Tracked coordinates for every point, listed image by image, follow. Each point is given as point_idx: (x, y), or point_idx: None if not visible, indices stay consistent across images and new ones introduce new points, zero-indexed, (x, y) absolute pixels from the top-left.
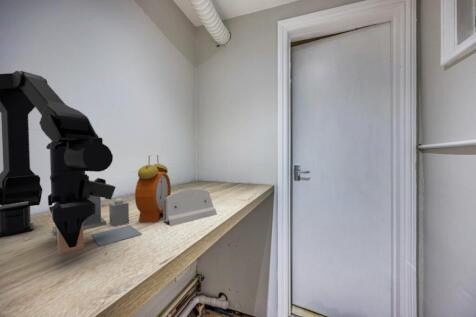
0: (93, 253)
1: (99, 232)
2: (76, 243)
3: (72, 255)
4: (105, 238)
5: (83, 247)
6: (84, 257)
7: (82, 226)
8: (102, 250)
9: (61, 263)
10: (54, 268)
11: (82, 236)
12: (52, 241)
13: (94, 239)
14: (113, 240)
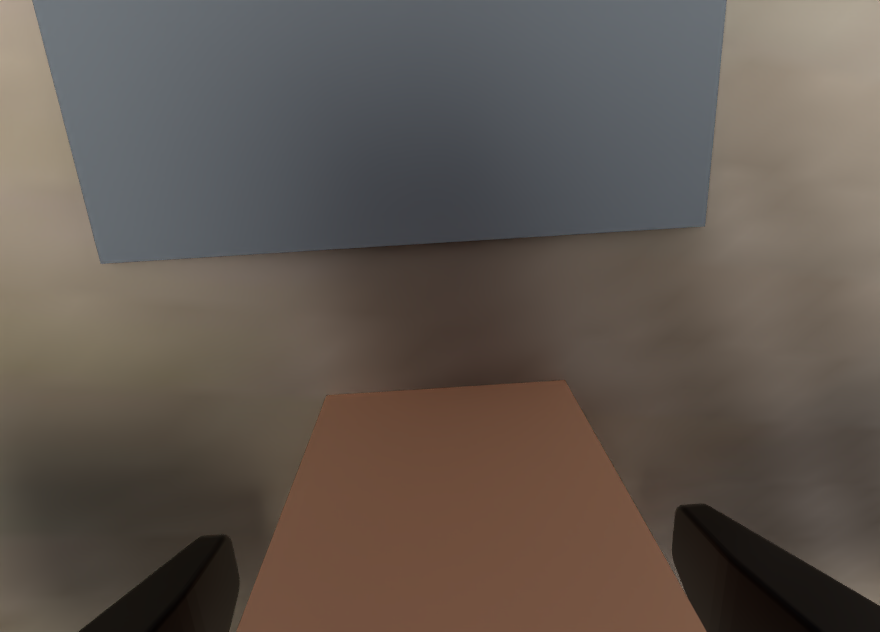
0: (852, 308)
1: (78, 141)
2: (740, 525)
3: (704, 480)
4: (470, 106)
5: (561, 382)
6: (872, 393)
7: (691, 623)
8: (860, 210)
9: (816, 554)
10: (871, 592)
11: (613, 478)
12: (84, 624)
13: (358, 244)
14: (665, 11)
